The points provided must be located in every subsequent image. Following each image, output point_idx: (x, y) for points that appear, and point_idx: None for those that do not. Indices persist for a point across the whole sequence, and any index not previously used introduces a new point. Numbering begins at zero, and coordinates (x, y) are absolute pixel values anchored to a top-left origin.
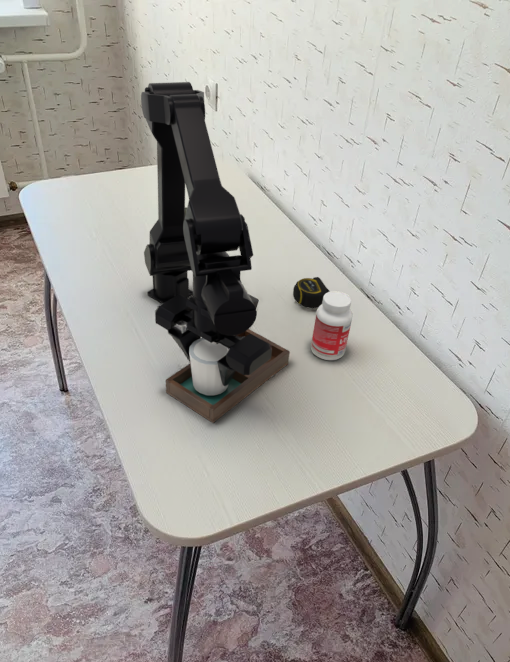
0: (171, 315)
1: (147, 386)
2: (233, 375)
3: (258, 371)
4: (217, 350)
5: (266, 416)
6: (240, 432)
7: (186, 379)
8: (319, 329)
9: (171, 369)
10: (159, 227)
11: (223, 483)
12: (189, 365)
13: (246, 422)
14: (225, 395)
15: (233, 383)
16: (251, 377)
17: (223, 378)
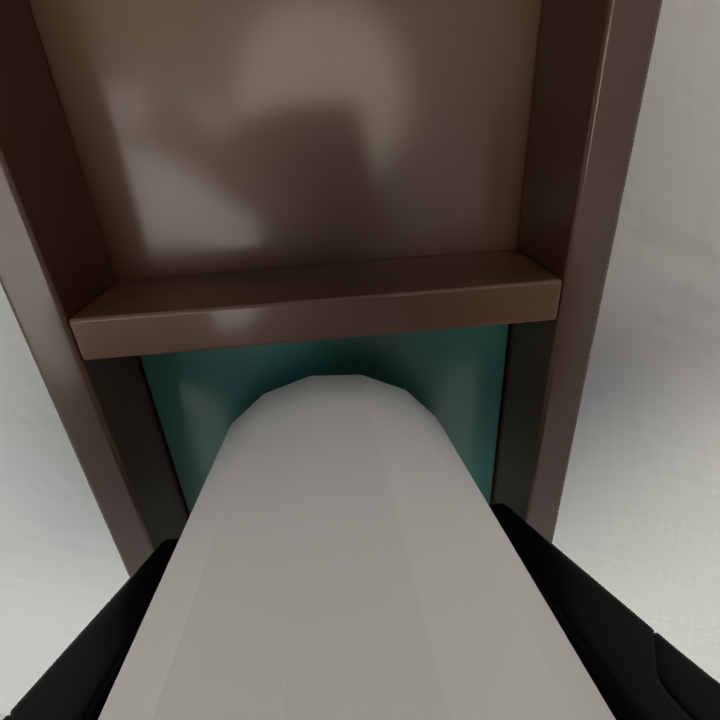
0: None
1: (101, 606)
2: (572, 563)
3: (592, 188)
4: None
5: (706, 348)
6: (633, 498)
7: (183, 503)
8: None
9: (29, 476)
10: None
11: (687, 647)
12: (128, 535)
13: (628, 445)
14: (449, 437)
15: (413, 332)
16: (577, 301)
17: None
